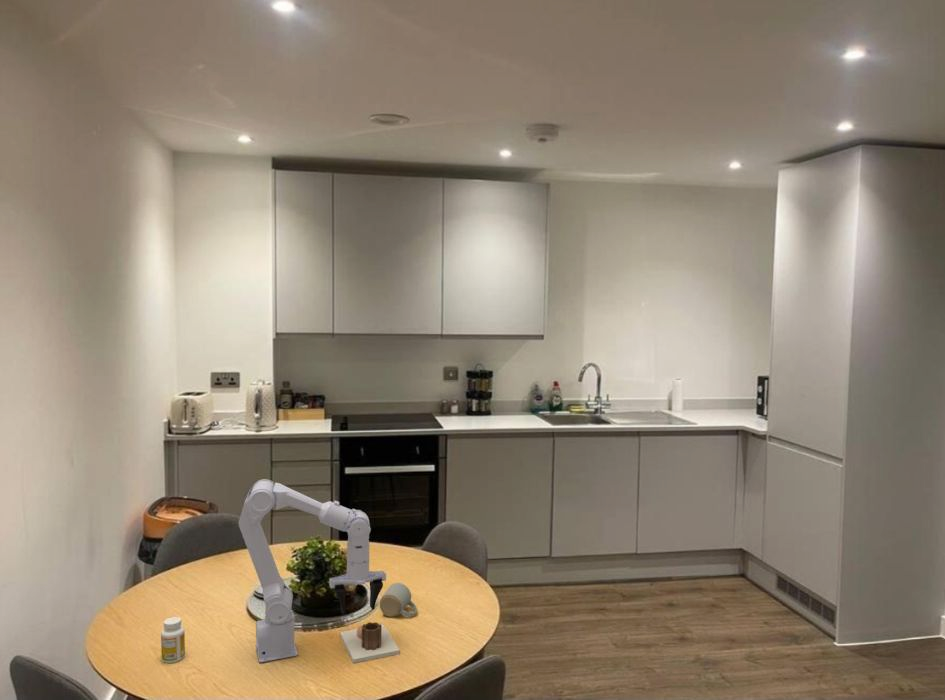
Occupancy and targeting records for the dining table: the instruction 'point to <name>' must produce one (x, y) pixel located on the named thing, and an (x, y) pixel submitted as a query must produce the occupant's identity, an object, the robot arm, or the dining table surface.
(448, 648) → the dining table surface
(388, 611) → the ceramic mug
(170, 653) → the supplement bottle
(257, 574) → the robot arm
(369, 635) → the walnut pinion gear
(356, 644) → the gear board
